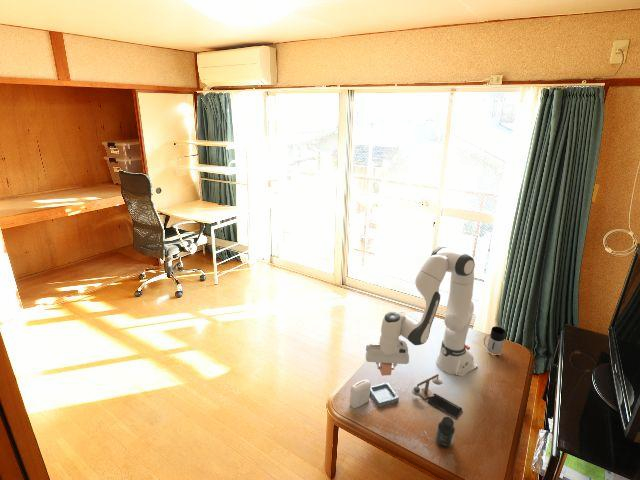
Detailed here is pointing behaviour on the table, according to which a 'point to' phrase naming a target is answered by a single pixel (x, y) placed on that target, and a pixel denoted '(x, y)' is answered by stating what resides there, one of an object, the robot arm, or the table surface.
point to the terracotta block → (386, 369)
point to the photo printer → (360, 393)
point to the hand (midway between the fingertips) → (385, 368)
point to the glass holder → (495, 340)
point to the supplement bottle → (445, 432)
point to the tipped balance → (426, 387)
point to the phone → (445, 406)
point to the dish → (383, 394)
